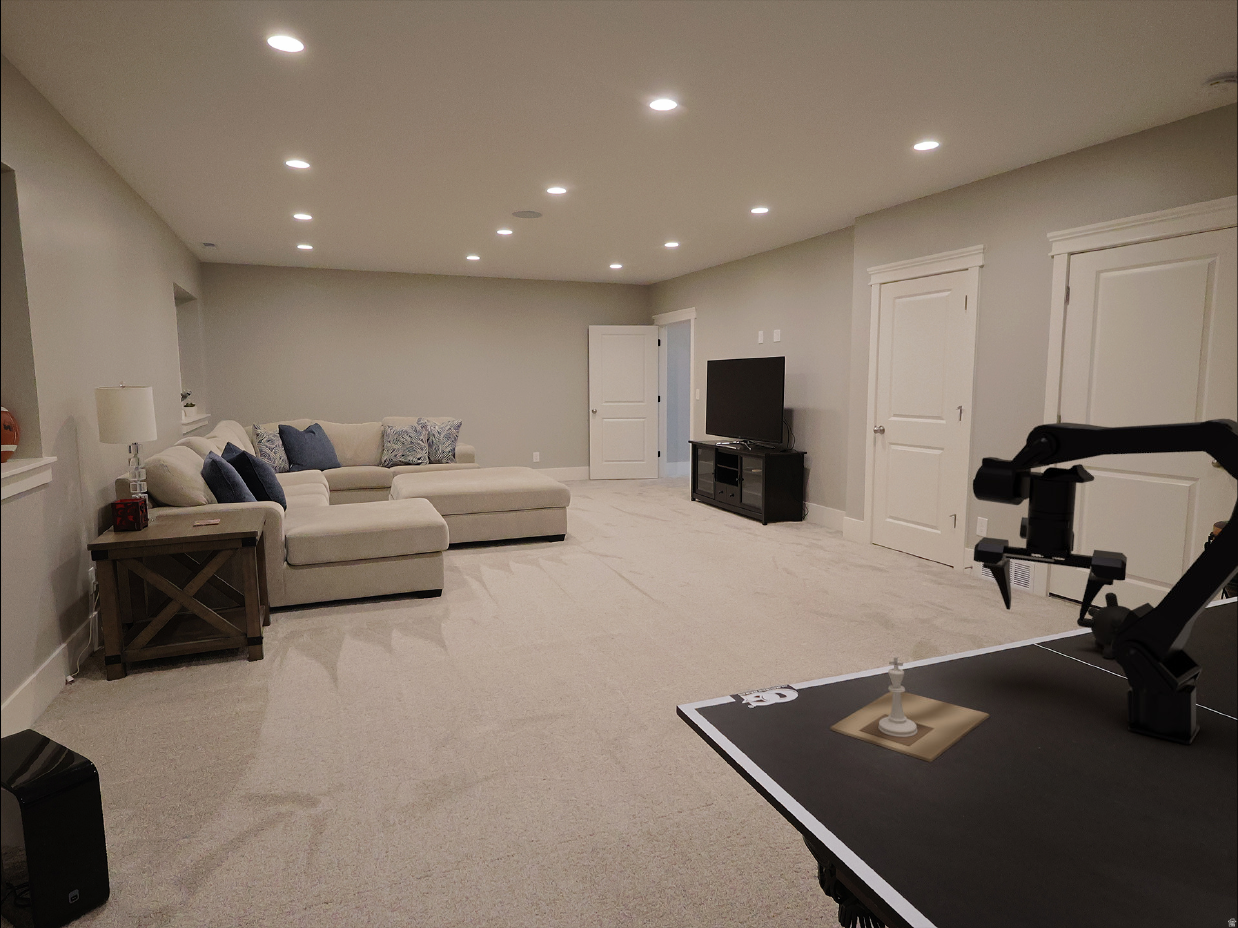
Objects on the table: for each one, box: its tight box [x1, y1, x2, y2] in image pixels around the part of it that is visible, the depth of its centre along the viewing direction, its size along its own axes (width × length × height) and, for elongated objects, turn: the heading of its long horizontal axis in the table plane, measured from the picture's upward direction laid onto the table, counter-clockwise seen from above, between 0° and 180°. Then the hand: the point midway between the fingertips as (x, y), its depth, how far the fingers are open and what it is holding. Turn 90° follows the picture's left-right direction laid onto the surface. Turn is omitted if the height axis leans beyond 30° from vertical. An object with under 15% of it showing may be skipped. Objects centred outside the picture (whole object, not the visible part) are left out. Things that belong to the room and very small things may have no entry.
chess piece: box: [879, 655, 917, 737], centre depth 97 cm, size 5×5×10 cm
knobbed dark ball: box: [1076, 592, 1132, 660], centre depth 122 cm, size 11×11×12 cm
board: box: [830, 690, 990, 763], centre depth 100 cm, size 14×18×1 cm
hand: (1043, 614), depth 105 cm, fingers open, 9 cm apart
